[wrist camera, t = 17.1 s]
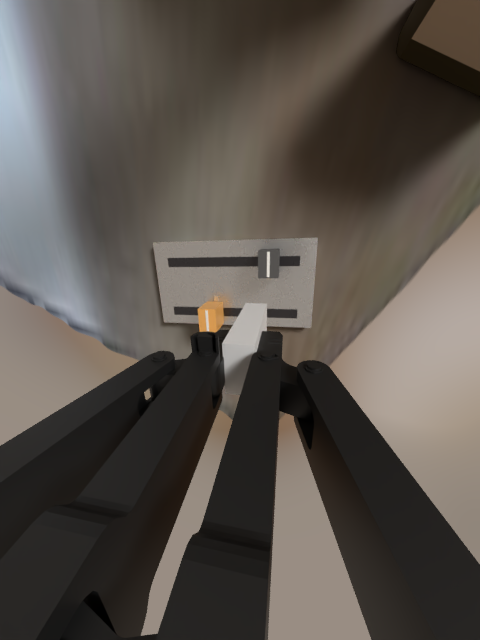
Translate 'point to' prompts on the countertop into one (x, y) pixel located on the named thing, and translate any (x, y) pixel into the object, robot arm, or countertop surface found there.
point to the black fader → (268, 263)
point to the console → (236, 279)
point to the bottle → (444, 40)
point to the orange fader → (211, 316)
